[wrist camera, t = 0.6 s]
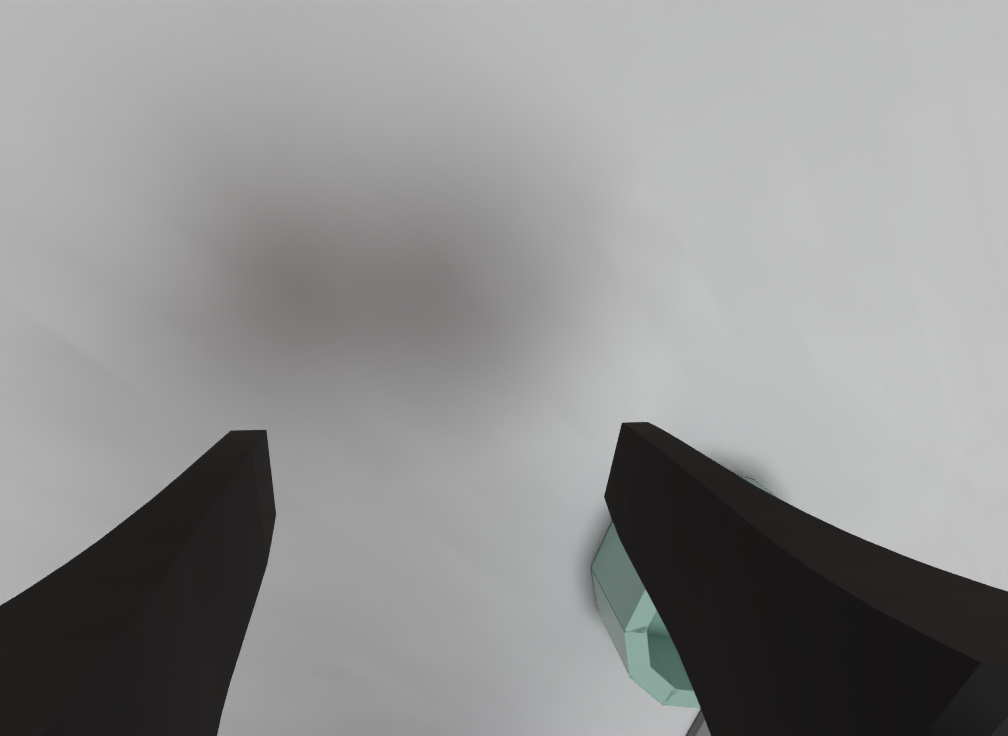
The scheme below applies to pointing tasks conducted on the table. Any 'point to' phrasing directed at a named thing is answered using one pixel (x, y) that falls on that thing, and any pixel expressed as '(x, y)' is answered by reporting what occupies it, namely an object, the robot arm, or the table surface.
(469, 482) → the table surface
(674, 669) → the bowl
